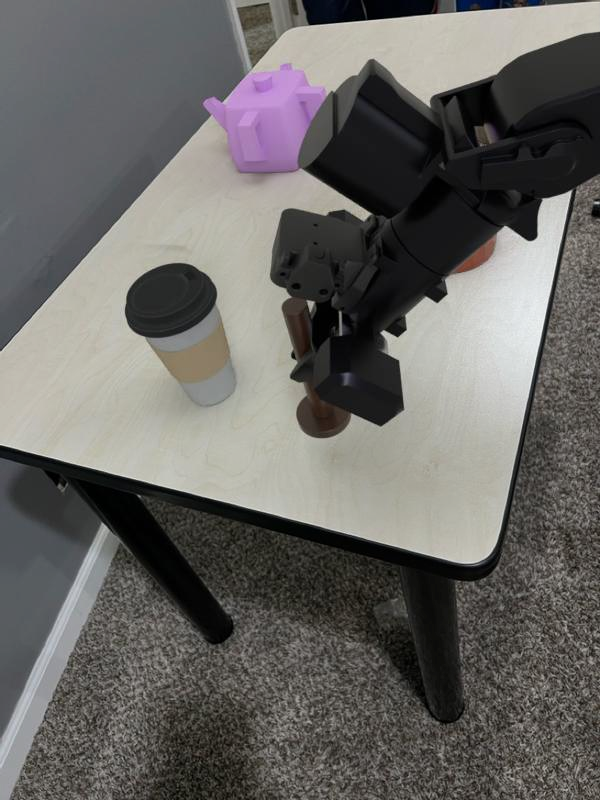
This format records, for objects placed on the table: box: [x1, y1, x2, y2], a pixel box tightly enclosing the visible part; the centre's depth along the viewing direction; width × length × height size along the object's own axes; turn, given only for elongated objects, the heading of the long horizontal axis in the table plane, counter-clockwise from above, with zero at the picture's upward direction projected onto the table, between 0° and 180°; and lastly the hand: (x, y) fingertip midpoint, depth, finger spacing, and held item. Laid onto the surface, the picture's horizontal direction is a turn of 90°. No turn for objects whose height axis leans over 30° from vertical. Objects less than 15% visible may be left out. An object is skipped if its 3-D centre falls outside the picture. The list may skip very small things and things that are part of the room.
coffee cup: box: [124, 262, 237, 407], centre depth 64 cm, size 9×9×15 cm
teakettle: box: [202, 62, 328, 173], centre depth 96 cm, size 17×17×12 cm
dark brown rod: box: [281, 296, 352, 439], centre depth 50 cm, size 5×5×14 cm
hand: (294, 368), depth 50 cm, fingers closed on dark brown rod
